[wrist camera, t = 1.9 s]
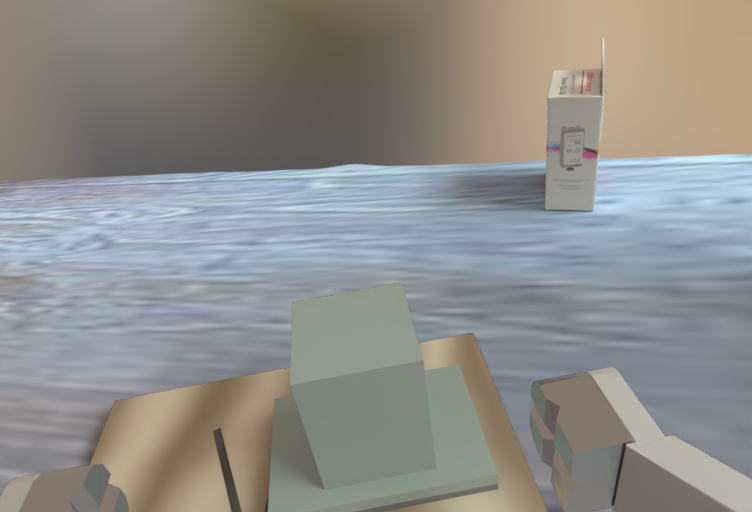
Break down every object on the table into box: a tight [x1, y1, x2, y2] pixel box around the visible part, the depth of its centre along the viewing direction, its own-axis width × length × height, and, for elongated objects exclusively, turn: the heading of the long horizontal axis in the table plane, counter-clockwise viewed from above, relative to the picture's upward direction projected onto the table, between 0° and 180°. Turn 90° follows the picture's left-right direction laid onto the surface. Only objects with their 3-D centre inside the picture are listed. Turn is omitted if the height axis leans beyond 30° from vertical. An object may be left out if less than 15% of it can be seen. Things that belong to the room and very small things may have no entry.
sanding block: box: [268, 282, 498, 512], centre depth 28 cm, size 12×8×9 cm, turn 97°
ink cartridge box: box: [545, 37, 604, 211], centre depth 52 cm, size 9×5×15 cm, turn 161°
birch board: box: [90, 333, 548, 512], centre depth 31 cm, size 26×16×2 cm, turn 97°
